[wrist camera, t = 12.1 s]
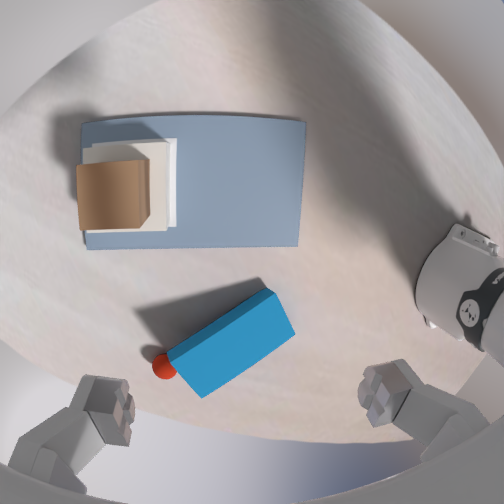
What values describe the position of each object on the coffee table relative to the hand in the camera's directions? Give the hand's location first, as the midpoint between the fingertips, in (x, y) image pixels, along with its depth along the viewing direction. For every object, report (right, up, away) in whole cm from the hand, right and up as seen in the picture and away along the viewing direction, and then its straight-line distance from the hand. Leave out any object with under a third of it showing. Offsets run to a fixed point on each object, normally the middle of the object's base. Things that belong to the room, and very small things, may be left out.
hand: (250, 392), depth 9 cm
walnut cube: (-11, +10, +15) cm, 21 cm away
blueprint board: (-6, +12, +21) cm, 25 cm away
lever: (-5, -6, +28) cm, 29 cm away
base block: (-12, +11, +19) cm, 25 cm away
